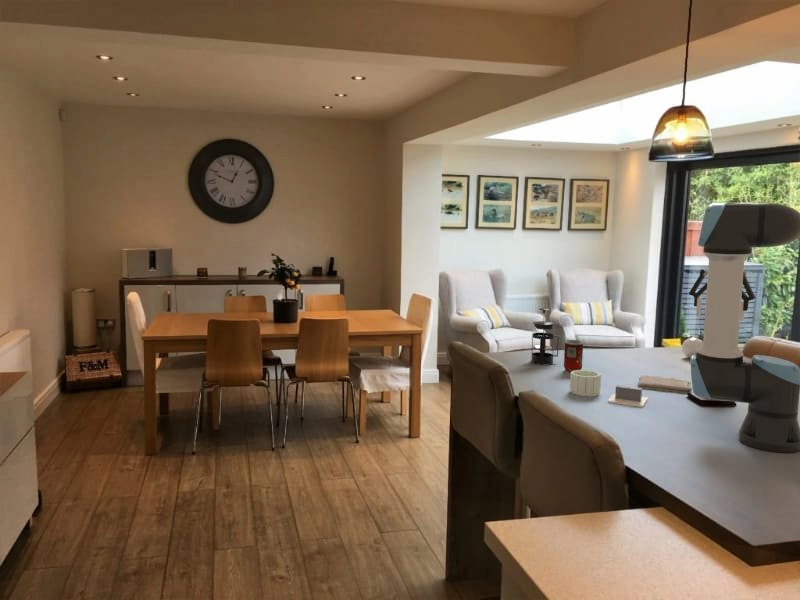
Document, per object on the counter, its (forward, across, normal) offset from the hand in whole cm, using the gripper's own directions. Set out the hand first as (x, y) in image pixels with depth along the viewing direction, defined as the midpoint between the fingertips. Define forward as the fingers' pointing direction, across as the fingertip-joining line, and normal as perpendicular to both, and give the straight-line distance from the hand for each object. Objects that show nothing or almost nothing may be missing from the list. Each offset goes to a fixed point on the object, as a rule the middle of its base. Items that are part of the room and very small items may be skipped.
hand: (719, 318), depth 219 cm
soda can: (+27, +52, 0) cm, 59 cm away
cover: (+28, +20, +27) cm, 43 cm away
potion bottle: (+27, +21, -60) cm, 69 cm away
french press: (+27, +69, -7) cm, 75 cm away
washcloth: (+28, +17, 0) cm, 32 cm away
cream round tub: (+27, +35, +27) cm, 52 cm away
